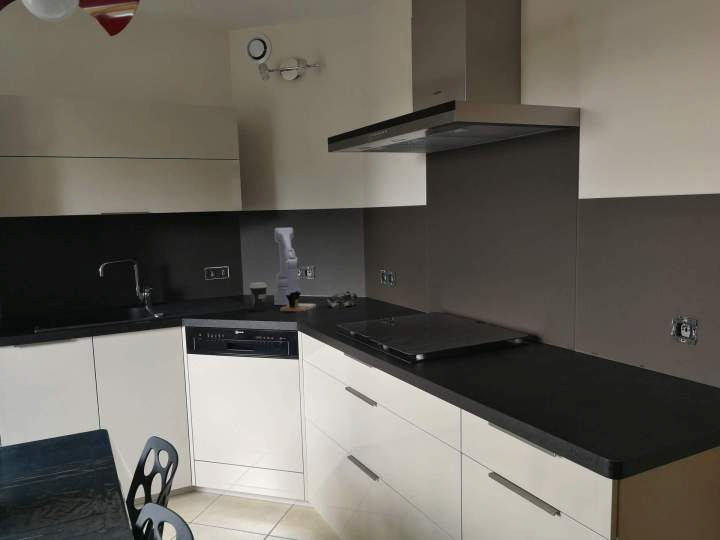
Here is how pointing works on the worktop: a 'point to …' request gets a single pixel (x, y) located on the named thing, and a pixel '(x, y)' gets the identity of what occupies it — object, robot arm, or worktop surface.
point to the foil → (342, 300)
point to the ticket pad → (305, 305)
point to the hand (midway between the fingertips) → (293, 306)
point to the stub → (294, 307)
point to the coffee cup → (258, 296)
